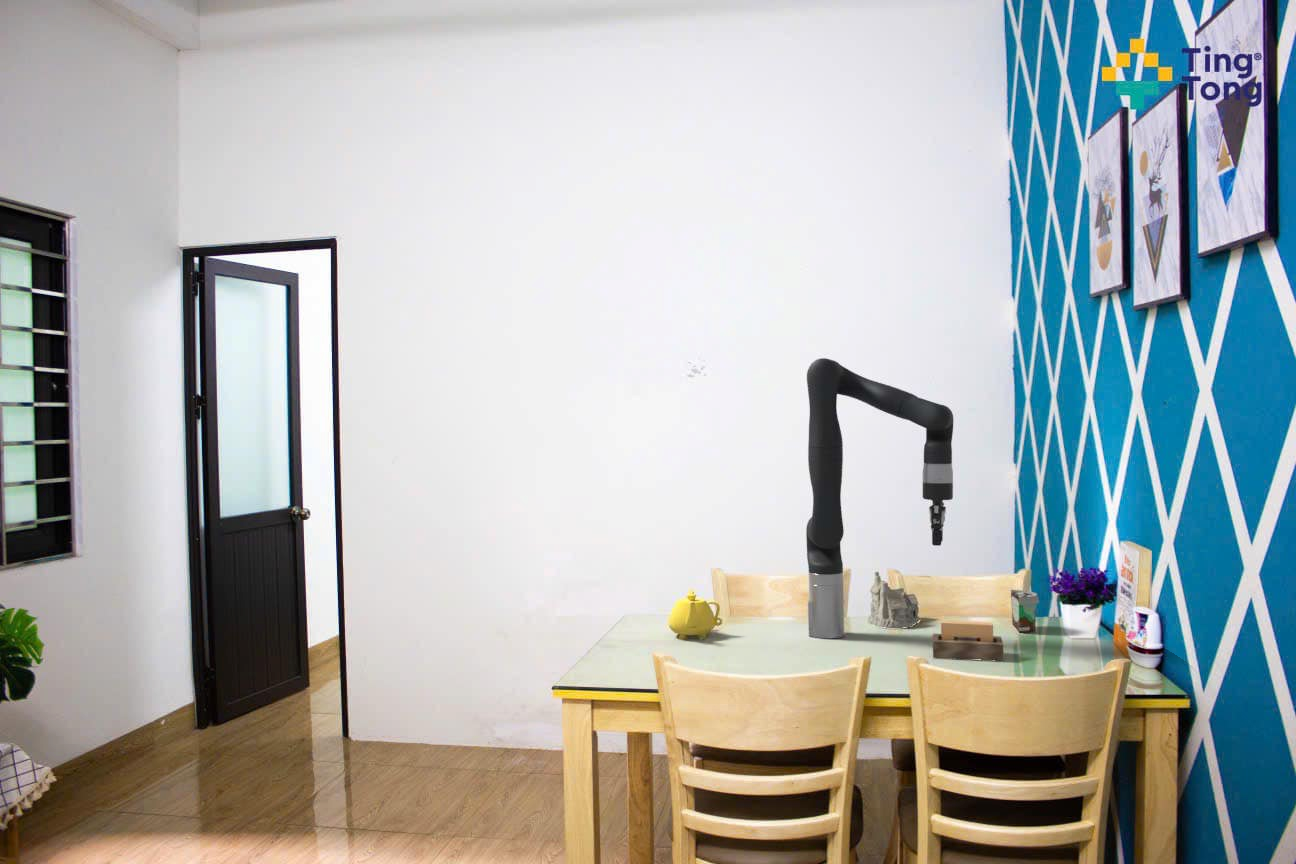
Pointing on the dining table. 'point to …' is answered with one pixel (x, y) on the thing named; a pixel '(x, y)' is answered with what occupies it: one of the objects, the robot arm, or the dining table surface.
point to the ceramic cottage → (892, 606)
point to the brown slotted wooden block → (968, 648)
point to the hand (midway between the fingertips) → (937, 543)
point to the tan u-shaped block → (967, 630)
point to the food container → (1024, 610)
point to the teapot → (693, 616)
